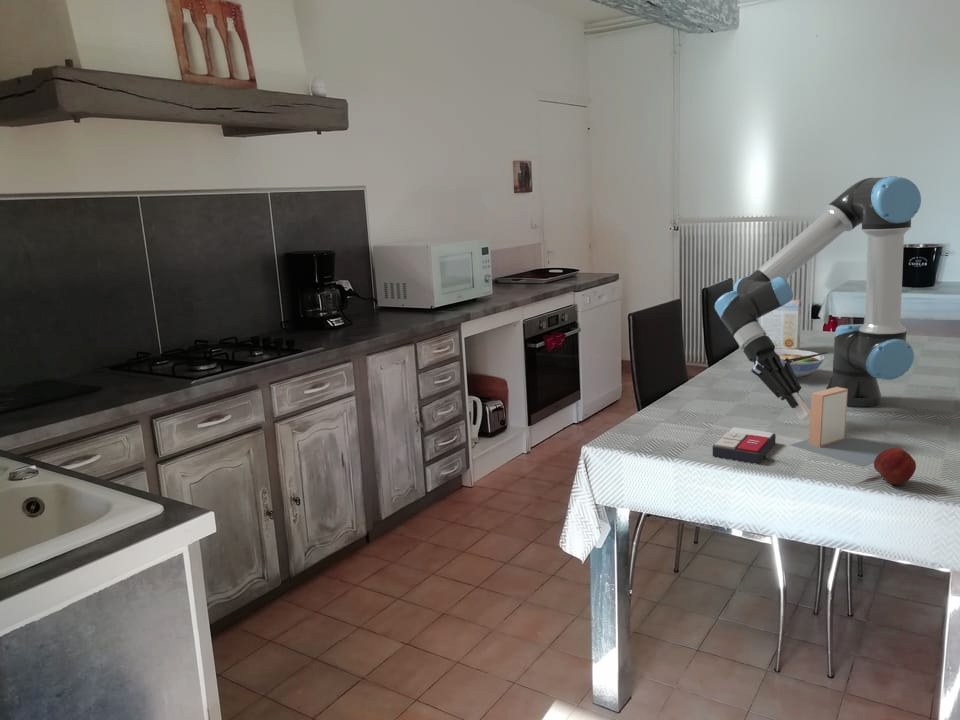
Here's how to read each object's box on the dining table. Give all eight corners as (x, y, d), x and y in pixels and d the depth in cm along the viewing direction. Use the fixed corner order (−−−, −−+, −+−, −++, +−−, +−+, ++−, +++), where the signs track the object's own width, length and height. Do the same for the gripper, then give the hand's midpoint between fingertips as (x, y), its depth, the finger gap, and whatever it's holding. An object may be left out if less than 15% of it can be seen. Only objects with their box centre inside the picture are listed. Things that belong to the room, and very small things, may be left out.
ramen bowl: (781, 365, 274) (782, 343, 272) (840, 377, 255) (841, 353, 253) (735, 376, 261) (736, 353, 259) (793, 388, 242) (794, 363, 240)
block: (833, 436, 192) (836, 386, 189) (844, 439, 189) (848, 389, 186) (808, 444, 187) (811, 393, 184) (819, 447, 184) (822, 395, 181)
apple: (908, 492, 157) (911, 456, 156) (868, 484, 162) (870, 448, 161) (917, 482, 163) (920, 446, 161) (877, 474, 168) (880, 439, 166)
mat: (834, 434, 196) (834, 431, 196) (907, 453, 180) (907, 450, 180) (789, 447, 187) (789, 444, 187) (861, 469, 171) (862, 466, 171)
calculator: (712, 443, 182) (731, 424, 194) (711, 460, 183) (731, 440, 195) (758, 451, 176) (776, 430, 187) (758, 468, 177) (775, 447, 188)
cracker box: (799, 352, 295) (802, 299, 290) (796, 355, 290) (799, 301, 285) (762, 350, 302) (764, 298, 298) (758, 352, 297) (760, 300, 293)
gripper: (762, 347, 208) (812, 420, 198) (729, 354, 202) (779, 429, 191) (779, 331, 203) (832, 404, 192) (746, 337, 196) (799, 413, 185)
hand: (806, 416), depth 192 cm, fingers closed
